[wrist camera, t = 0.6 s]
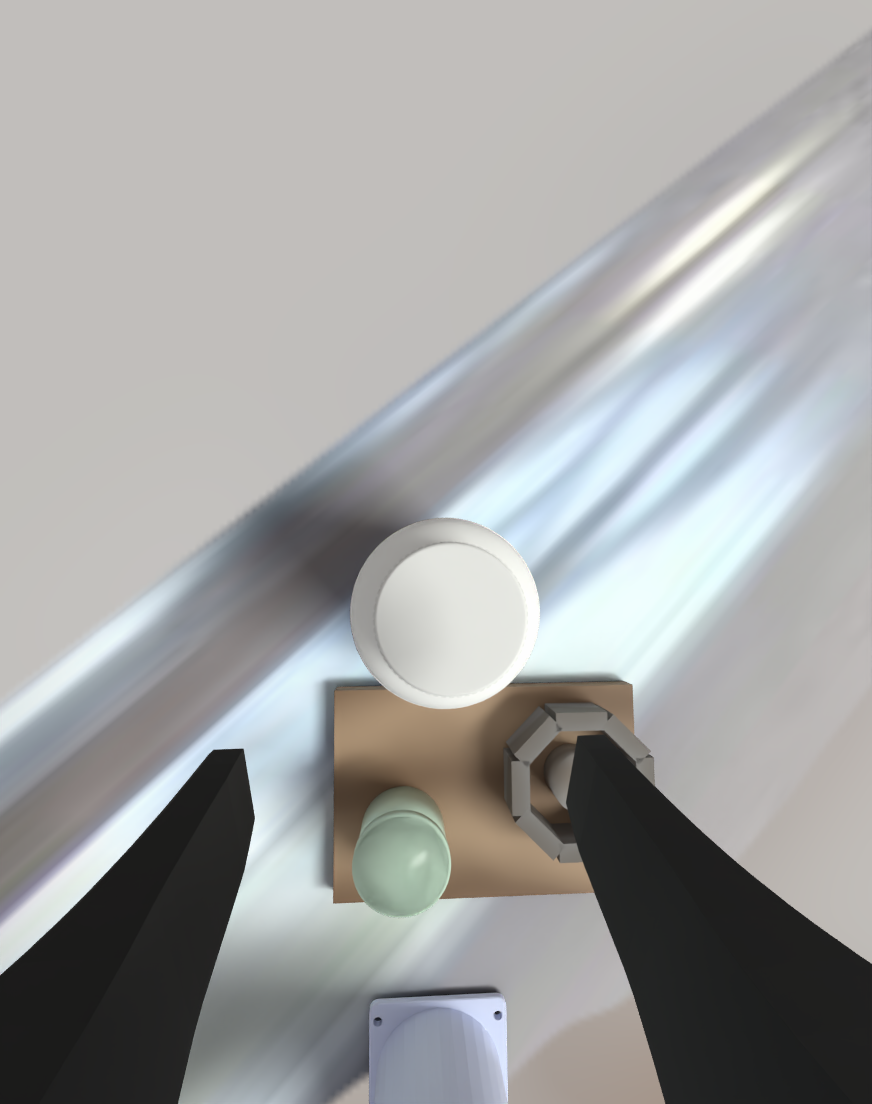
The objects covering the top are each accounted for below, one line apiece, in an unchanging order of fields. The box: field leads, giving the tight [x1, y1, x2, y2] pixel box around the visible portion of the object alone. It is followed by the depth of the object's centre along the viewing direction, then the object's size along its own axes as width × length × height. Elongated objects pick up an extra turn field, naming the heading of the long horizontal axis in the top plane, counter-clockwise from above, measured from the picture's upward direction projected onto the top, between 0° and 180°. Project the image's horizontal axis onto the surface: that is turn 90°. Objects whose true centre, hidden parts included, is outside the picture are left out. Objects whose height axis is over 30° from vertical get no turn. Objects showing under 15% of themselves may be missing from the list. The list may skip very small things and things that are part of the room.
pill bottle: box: [350, 518, 540, 709], centre depth 24 cm, size 8×8×15 cm
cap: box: [352, 786, 451, 918], centre depth 28 cm, size 5×5×4 cm
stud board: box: [333, 681, 655, 903], centre depth 29 cm, size 12×18×4 cm, turn 91°
